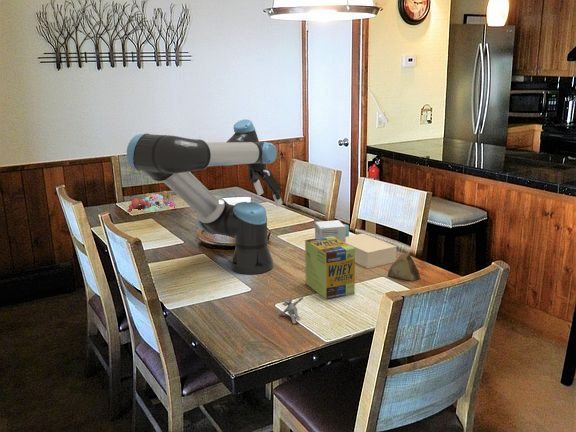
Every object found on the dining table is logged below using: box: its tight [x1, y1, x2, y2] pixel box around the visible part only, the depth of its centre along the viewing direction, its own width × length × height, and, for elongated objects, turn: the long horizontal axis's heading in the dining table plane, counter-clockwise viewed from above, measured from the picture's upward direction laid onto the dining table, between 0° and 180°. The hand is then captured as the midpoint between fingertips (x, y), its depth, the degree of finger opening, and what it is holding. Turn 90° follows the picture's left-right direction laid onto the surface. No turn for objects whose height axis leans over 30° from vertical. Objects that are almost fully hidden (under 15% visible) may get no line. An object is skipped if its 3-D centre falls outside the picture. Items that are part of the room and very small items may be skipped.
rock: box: [387, 253, 422, 281], centre depth 191 cm, size 10×8×10 cm
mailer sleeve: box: [346, 233, 397, 270], centre depth 211 cm, size 20×13×6 cm, turn 30°
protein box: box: [304, 236, 356, 300], centre depth 181 cm, size 10×15×16 cm
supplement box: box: [314, 219, 346, 243], centre depth 198 cm, size 10×9×17 cm
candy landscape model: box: [127, 190, 177, 213], centre depth 290 cm, size 25×24×9 cm
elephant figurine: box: [278, 296, 304, 325], centre depth 161 cm, size 9×5×8 cm
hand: (270, 199), depth 231 cm, fingers open, 13 cm apart
